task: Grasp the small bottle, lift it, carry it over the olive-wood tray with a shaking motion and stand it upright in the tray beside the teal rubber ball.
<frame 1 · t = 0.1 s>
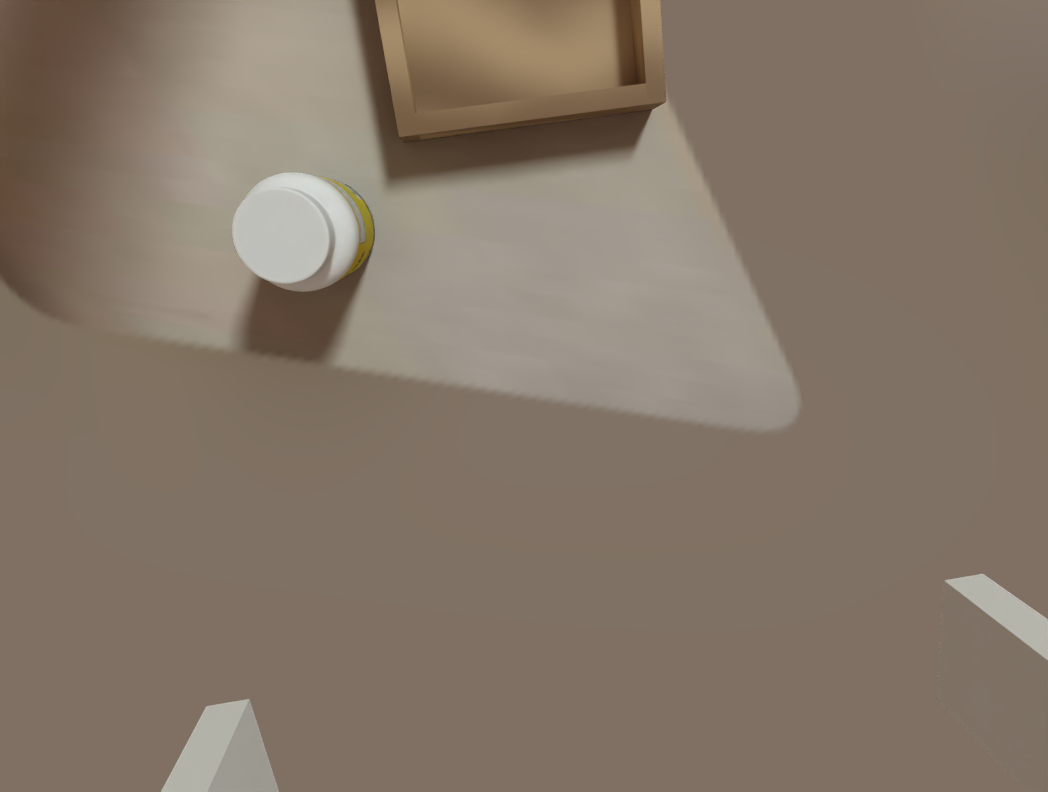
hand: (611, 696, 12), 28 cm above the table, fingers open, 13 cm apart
supplement bottle: (329, 229, 36), on the table
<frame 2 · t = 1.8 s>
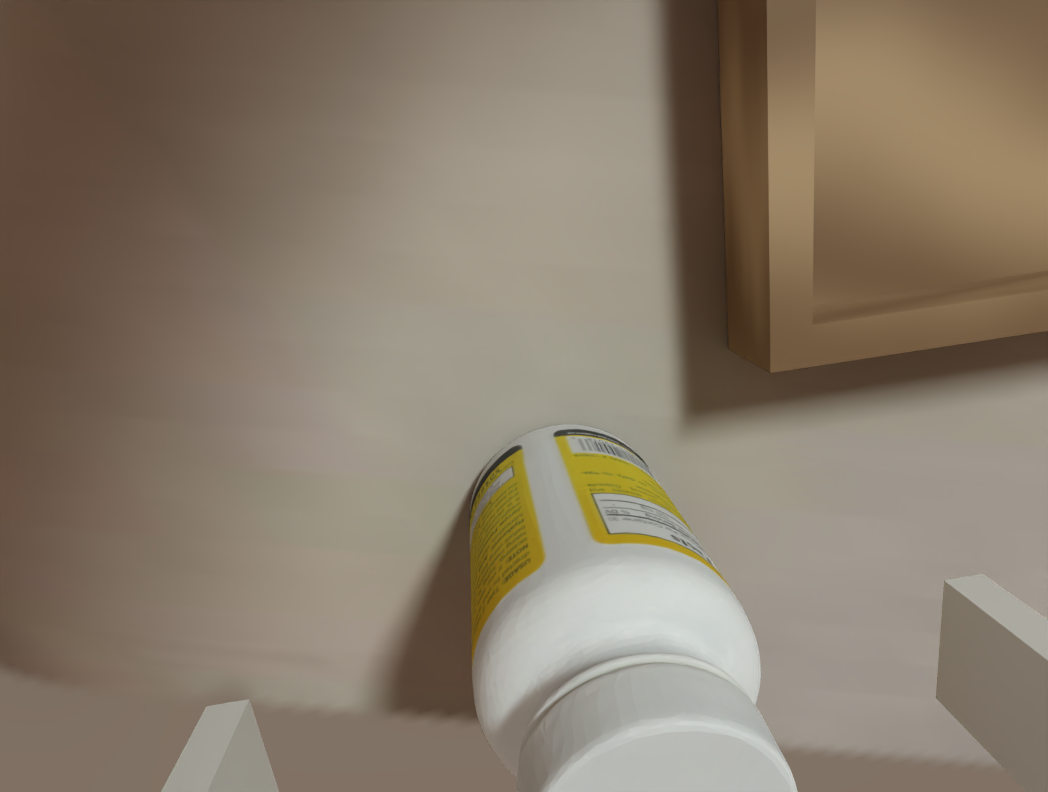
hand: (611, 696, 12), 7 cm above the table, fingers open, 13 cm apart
supplement bottle: (562, 504, 18), on the table
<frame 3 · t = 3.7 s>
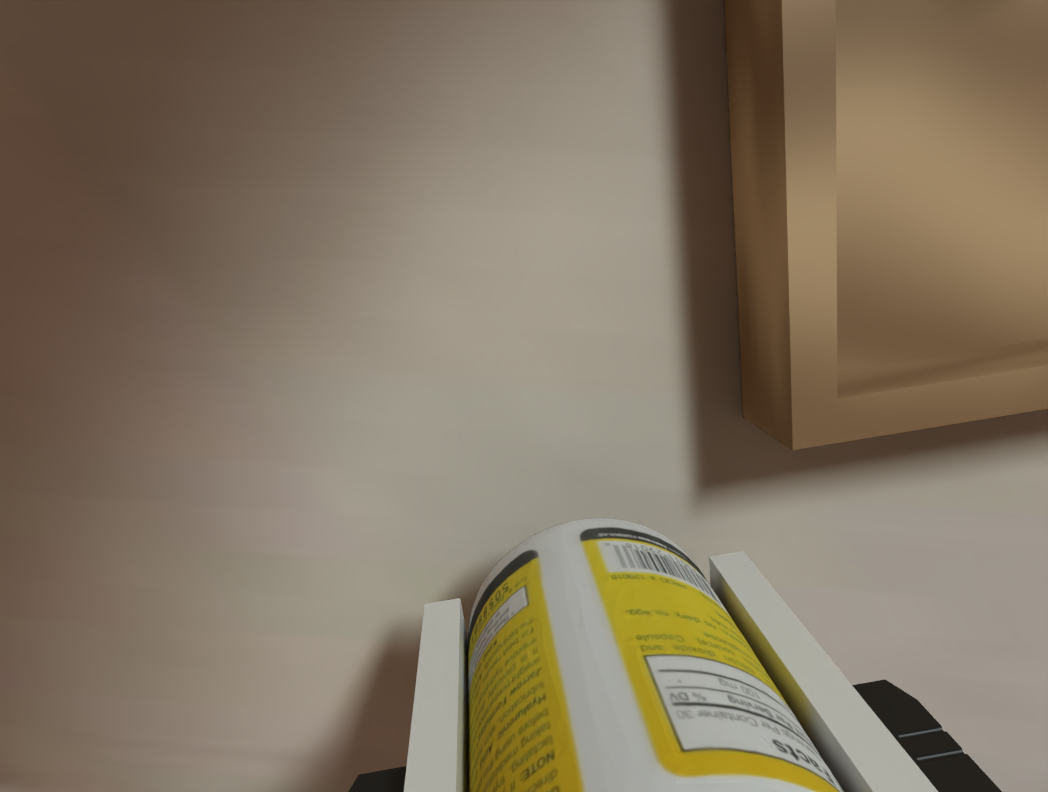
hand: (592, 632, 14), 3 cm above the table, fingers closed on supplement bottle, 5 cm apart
tray: (1028, 33, 14), on the table
supplement bottle: (588, 614, 14), point 2 cm above the table, touching gripper
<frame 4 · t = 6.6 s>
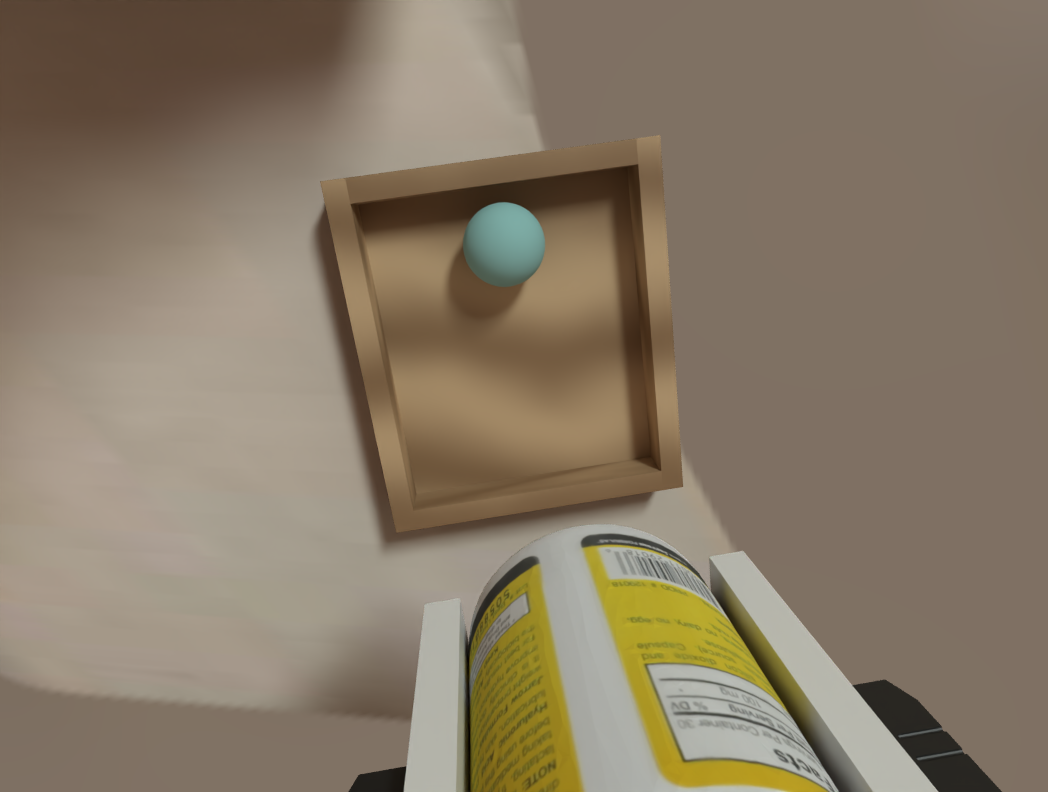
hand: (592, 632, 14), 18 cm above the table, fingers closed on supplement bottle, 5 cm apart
tray: (514, 337, 30), on the table
supplement bottle: (589, 619, 14), point 18 cm above the table, touching gripper
ball: (502, 243, 28), point 1 cm above the table, touching tray
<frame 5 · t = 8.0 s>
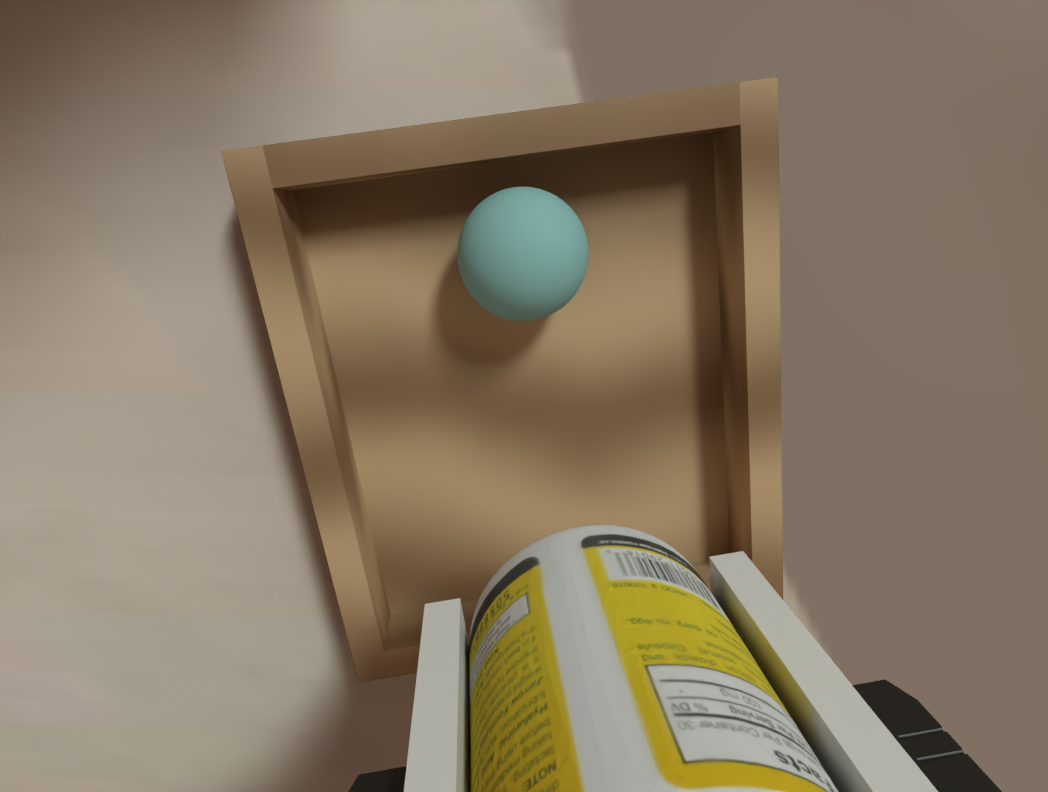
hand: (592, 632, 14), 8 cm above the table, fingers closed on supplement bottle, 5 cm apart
tray: (535, 390, 20), on the table
supplement bottle: (589, 620, 14), point 7 cm above the table, touching gripper
ball: (517, 251, 18), point 1 cm above the table, touching tray
when the fingers open (2 cm above the table, at t = 9.3 s): supplement bottle stays where it is, resting on tray.
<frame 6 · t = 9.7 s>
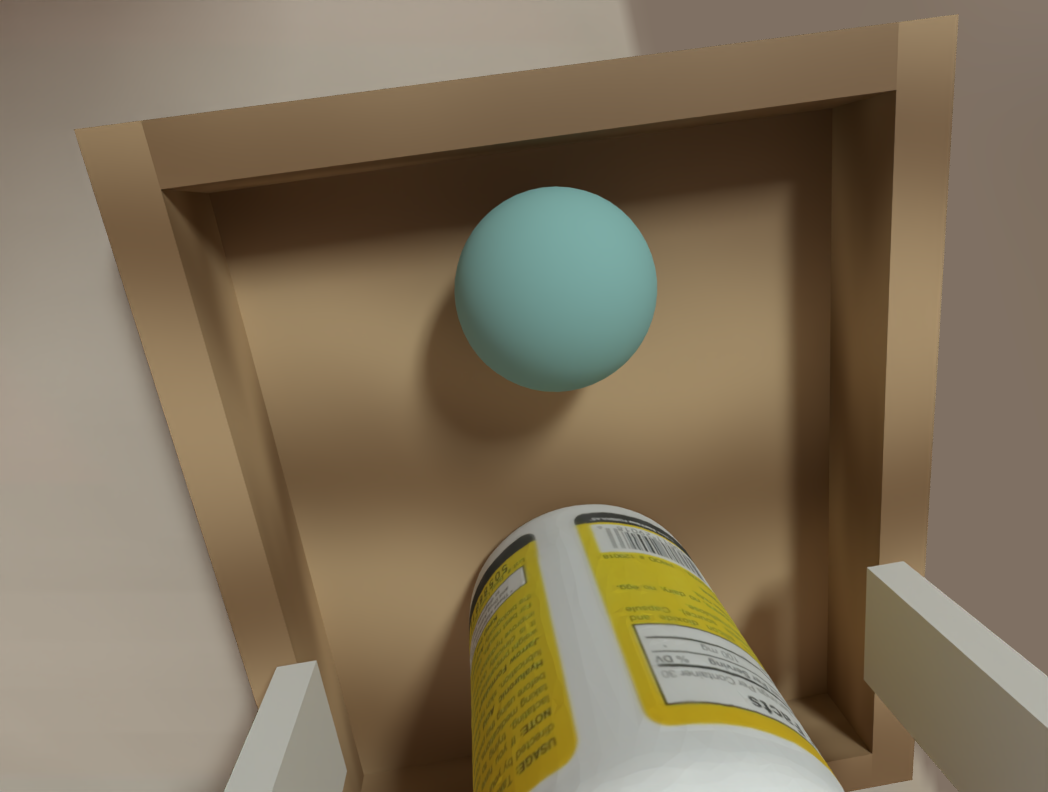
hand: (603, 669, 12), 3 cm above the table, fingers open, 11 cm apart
tray: (564, 473, 14), on the table
supplement bottle: (582, 596, 15), resting on tray
ball: (543, 281, 13), point 1 cm above the table, touching tray
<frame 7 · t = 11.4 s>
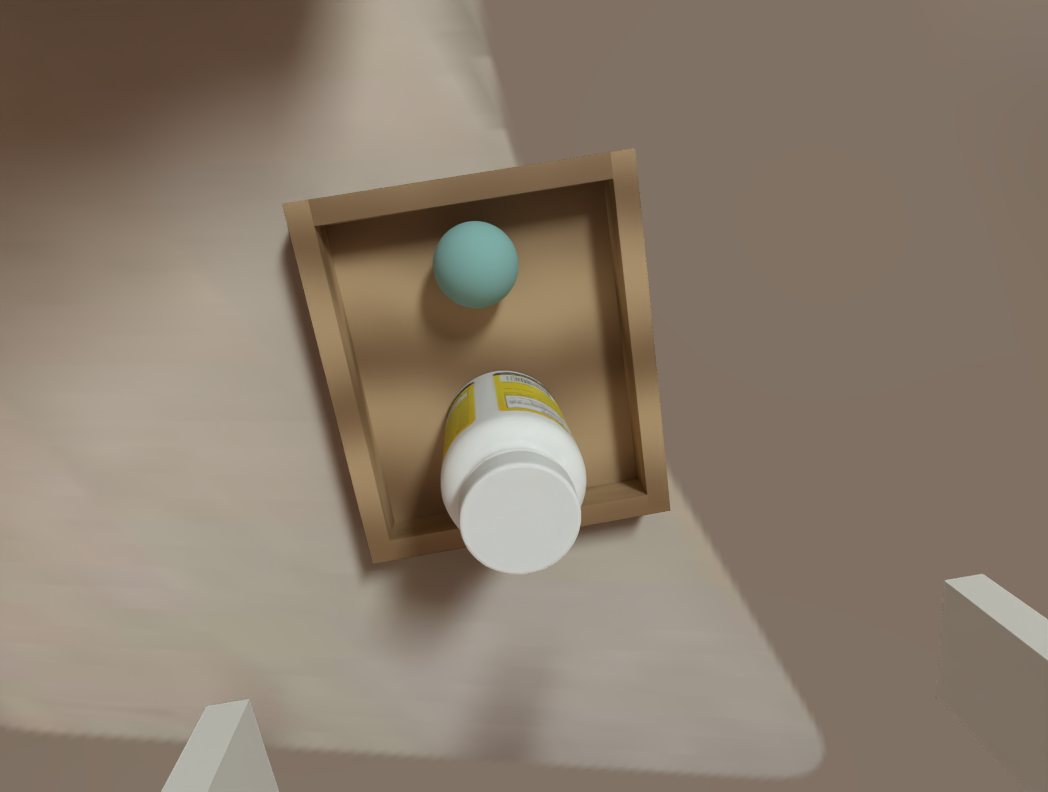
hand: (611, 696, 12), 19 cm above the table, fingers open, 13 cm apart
tray: (492, 359, 29), on the table
supplement bottle: (503, 423, 30), resting on tray
ball: (475, 262, 27), point 1 cm above the table, touching tray
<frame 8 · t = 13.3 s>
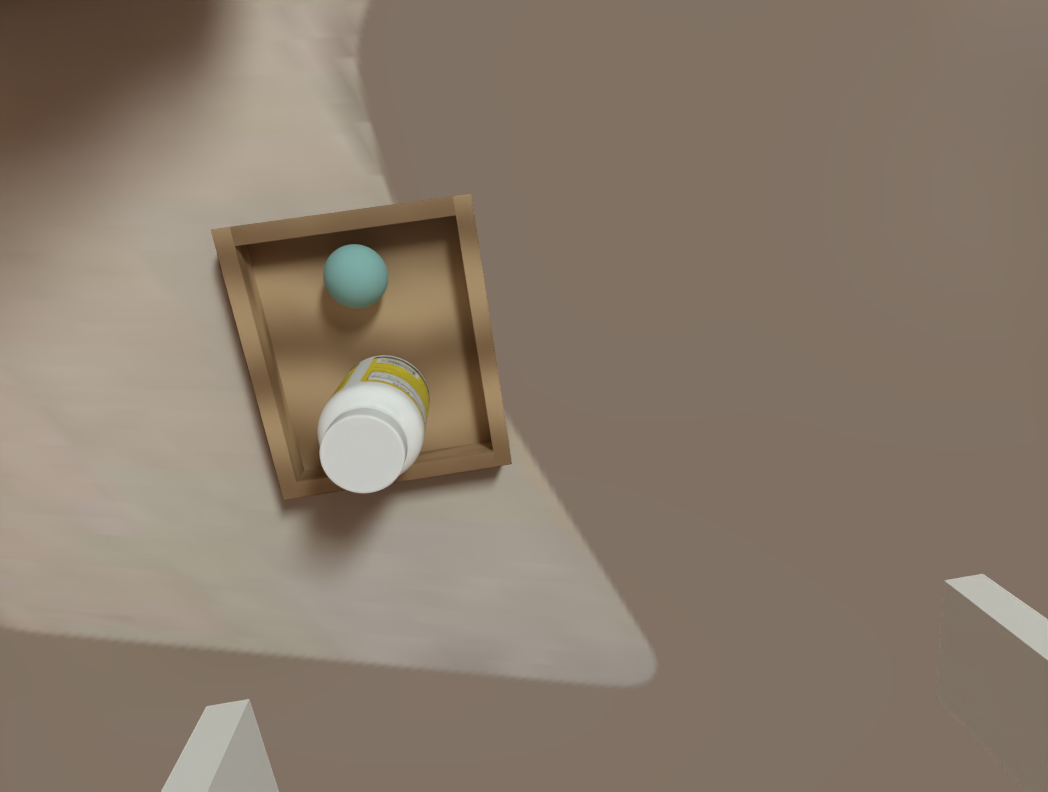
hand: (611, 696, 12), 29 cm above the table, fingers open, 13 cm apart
tray: (378, 346, 38), on the table
supplement bottle: (387, 395, 39), resting on tray
ball: (361, 273, 36), point 1 cm above the table, touching tray
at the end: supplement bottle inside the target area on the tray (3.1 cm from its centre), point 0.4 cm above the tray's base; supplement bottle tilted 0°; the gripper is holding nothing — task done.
